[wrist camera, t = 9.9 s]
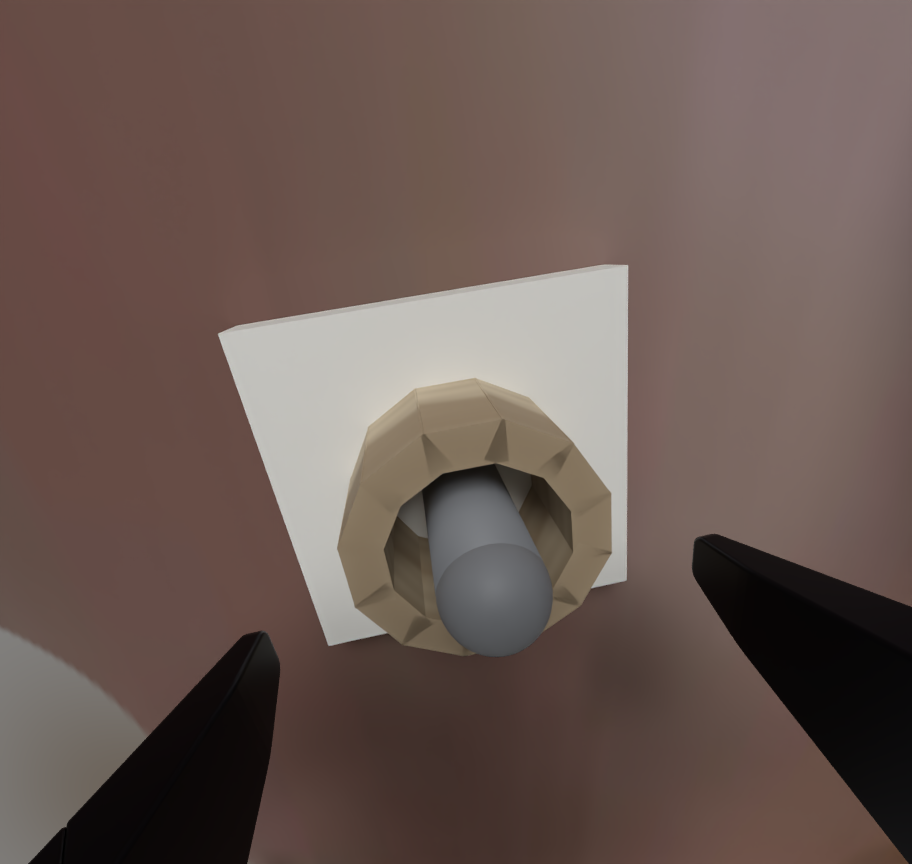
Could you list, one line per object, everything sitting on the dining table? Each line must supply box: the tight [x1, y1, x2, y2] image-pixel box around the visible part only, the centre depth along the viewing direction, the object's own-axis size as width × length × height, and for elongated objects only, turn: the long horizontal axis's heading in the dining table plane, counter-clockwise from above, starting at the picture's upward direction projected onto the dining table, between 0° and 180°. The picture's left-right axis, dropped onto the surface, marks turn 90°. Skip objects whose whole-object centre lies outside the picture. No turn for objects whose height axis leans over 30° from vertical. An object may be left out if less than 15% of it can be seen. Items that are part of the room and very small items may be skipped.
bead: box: [337, 378, 612, 656], centre depth 12 cm, size 6×6×4 cm
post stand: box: [218, 265, 628, 657], centre depth 11 cm, size 11×11×8 cm
